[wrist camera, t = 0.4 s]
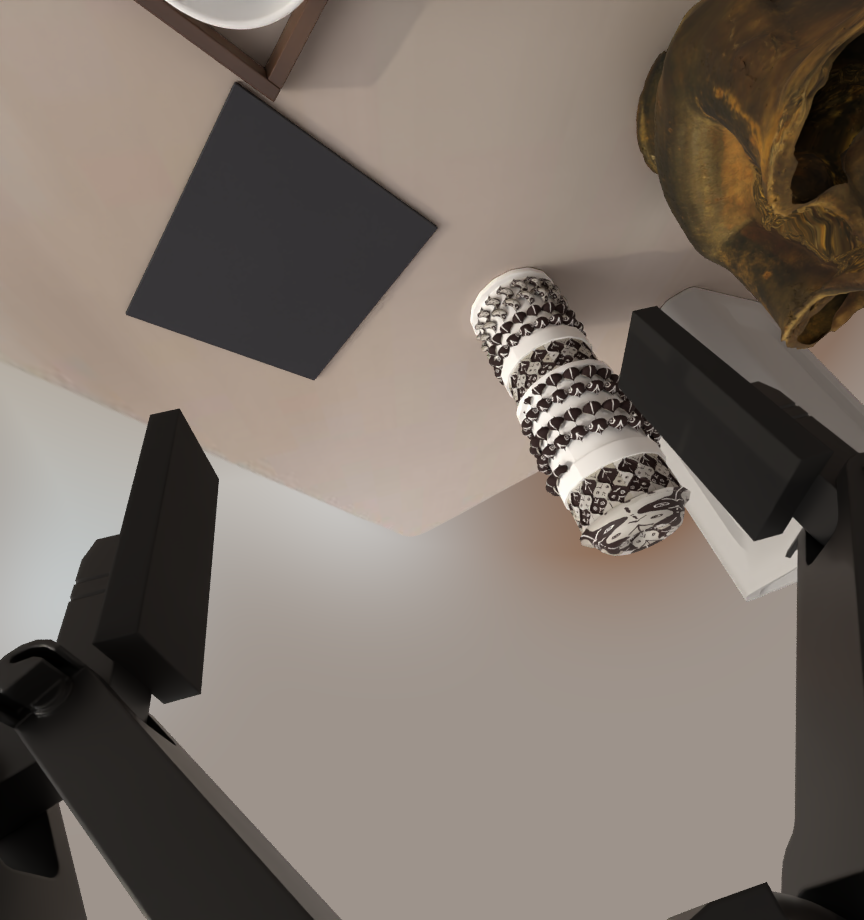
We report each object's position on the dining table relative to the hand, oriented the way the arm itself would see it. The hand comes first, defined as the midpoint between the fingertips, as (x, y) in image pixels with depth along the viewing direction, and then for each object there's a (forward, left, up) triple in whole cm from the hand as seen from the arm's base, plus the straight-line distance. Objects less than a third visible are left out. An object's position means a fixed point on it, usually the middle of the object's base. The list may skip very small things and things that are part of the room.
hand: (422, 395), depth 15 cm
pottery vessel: (-15, +24, -26) cm, 38 cm away
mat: (+12, +6, -26) cm, 29 cm away
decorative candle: (+5, +26, -26) cm, 37 cm away
